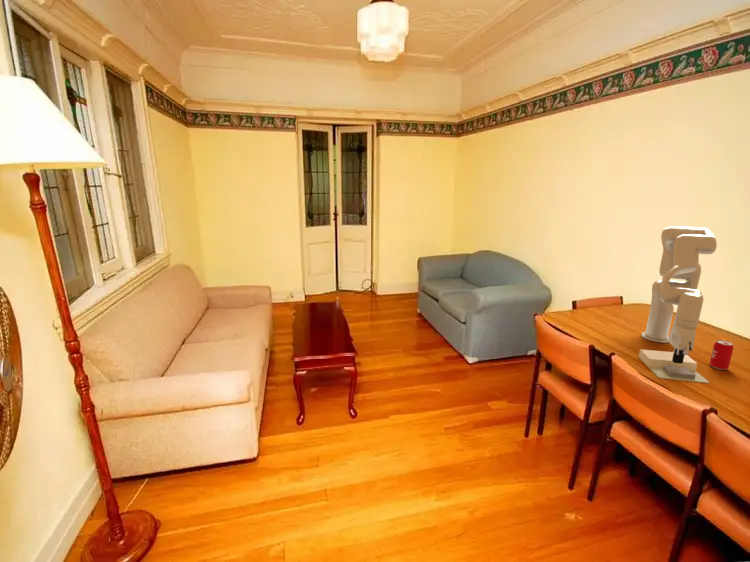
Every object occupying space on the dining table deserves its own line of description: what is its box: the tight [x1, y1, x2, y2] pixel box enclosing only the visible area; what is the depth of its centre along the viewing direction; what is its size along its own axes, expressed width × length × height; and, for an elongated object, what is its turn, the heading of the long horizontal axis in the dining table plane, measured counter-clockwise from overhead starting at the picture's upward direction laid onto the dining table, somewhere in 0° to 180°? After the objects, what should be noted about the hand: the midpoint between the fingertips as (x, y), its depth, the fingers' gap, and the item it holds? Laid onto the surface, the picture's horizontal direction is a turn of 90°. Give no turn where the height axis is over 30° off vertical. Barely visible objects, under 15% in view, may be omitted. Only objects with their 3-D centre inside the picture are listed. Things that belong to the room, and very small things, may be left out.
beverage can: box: [709, 339, 734, 371], centre depth 163 cm, size 6×6×12 cm
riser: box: [638, 349, 698, 372], centre depth 167 cm, size 10×18×4 cm, turn 76°
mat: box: [647, 366, 710, 384], centre depth 158 cm, size 10×18×1 cm, turn 76°
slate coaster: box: [663, 366, 696, 379], centre depth 157 cm, size 6×9×2 cm, turn 75°
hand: (677, 362), depth 159 cm, fingers closed
